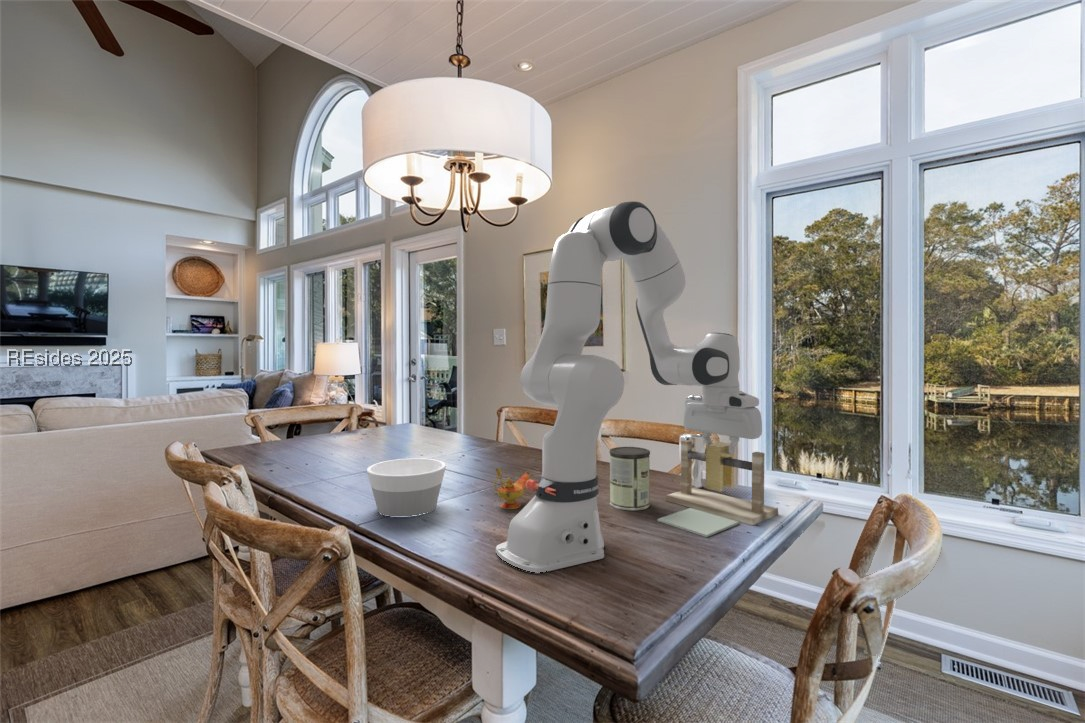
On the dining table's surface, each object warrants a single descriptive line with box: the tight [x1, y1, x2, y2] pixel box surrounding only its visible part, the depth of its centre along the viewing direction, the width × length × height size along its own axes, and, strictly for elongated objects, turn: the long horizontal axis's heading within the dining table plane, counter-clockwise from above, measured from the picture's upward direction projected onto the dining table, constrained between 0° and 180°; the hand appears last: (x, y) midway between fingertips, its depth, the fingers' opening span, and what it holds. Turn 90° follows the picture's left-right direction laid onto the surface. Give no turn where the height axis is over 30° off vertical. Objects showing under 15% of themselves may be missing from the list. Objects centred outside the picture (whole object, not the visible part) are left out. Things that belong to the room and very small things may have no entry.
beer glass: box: [678, 433, 705, 489], centre depth 146 cm, size 7×7×15 cm
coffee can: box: [608, 446, 651, 511], centre depth 129 cm, size 10×10×14 cm
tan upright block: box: [705, 441, 735, 493], centre depth 127 cm, size 6×4×11 cm, turn 129°
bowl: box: [366, 457, 447, 516], centre depth 126 cm, size 19×19×11 cm
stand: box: [665, 440, 779, 526], centre depth 127 cm, size 12×24×16 cm, turn 39°
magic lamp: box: [494, 468, 533, 510], centre depth 130 cm, size 7×18×11 cm, turn 152°
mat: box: [656, 507, 740, 538], centre depth 116 cm, size 13×13×1 cm
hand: (720, 452), depth 127 cm, fingers closed on tan upright block, 4 cm apart
